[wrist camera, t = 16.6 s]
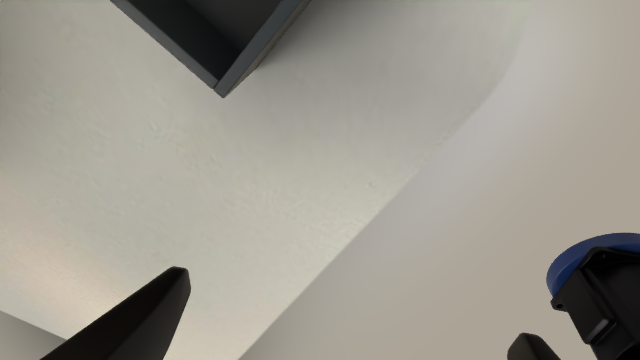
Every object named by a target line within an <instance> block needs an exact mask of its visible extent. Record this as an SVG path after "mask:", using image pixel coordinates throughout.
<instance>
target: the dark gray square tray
mask: <svg viewBox="0 0 640 360" xmlns="http://www.w3.org/2000/svg"><path fill="white" fill-rule="evenodd" d="M110 1H111V2H112V3H113V4H114V5H116V6H117V7H118V8H119V9H120V10H121V11H123V12H124V13H125V14H126V15H127V16H128V17H129V18H131V19H132V20H133V21H134V22H135V23H136V24H138V25H139V26H140V27H141V28H142V29H143V30H145V31H146V32H147V33H148V34H149V35H150V36H151V37H153V38H154V39H155V40H156V41H157V42H158V43H160V44H161V45H162V46H163V47H164V48H165V49H166V50H168V51H169V52H170V53H171V54H172V55H173V56H175V57H176V58H177V59H178V60H179V61H180V62H181V63H183V64H184V65H185V66H186V67H187V68H188V69H190V70H191V71H192V72H193V73H194V74H195V75H196V76H198V77H199V78H200V79H201V80H202V81H203V82H205V83H206V84H207V85H208V86H209V87H210V88H211V89H214V91H215V92H216V93H217V94H218V95H220V96H221V97H222V98H225V97H226V96H227V95H228V94H229V93H230V92H231V91H232V90H233V89H234V88H236V87H237V86H238V85H239V84H240V83H241V82H242V81H243V80H244V79H245V78H246V77H247V76H249V75H250V74H251V73H252V72H253V71H254V70H255V68H256V67H257V66H258V65H259V64H260V62H261V61H262V60H263V59H264V57H265V56H266V55H267V54H268V53H269V51H270V50H271V49H272V48H273V47H274V45H275V44H276V43H277V42H278V40H279V39H280V38H281V37H282V36H283V34H284V33H285V32H286V31H287V29H288V28H289V27H290V26H291V25H292V23H293V22H294V21H295V20H296V18H297V17H298V16H299V15H300V14H301V12H302V11H303V10H304V9H305V7H306V6H307V5H308V4H309V3H310V1H311V0H110Z"/></svg>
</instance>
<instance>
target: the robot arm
mask: <svg viewBox="0 0 640 360" xmlns="http://www.w3.org/2000/svg"><path fill="white" fill-rule="evenodd" d="M598 253H599V254H598ZM190 292H191V285H190V279H189V273H188V270H187V269H186V268H181V267H176V266H173V267H171V268H169V269H167V270H166V271H165V272H163V273H162V274H160V275H159V276H158V277H156V278H155V279H153V280H152V281H150V282H149V283H148V284H146V285H145V286H143V287H142V288H141V289H139V290H138V291H136V292H135V293H133V294H132V295H131V296H129V297H128V298H126V299H125V300H124V301H122V302H121V303H119V304H118V305H116V306H115V307H114V308H112V309H111V310H109V311H108V312H107V313H105V314H104V315H102V316H101V317H99V318H98V319H97V320H95V321H94V322H92V323H91V324H90V325H88V326H87V327H85V328H84V329H82V330H81V331H80V332H78V333H77V334H75V335H74V336H73V337H71V338H70V339H68V340H67V341H66V342H64V343H63V344H61V345H60V346H58V347H57V348H56V349H54V350H53V351H51V352H50V353H48V354H47V355H46V356H44V357H43V358H41V359H40V360H163V358H164V356H165V354H166V352H167V350H168V348H169V346H170V343H171V341H172V339H173V336H174V334H175V331H176V329H177V326H178V324H179V321H180V319H181V316H182V313H183V311H184V308H185V306H186V303H187V301H188V298H189V296H190ZM550 303H551V305H552V307H553V309H555V310H559V311H564V312H568V313H569V315H570V317H571V319H572V321H573V323H574V325H575V327H576V329H577V330H578V333H579V334H580V336H581V338H582V340H583V342H584V343H585V344H589V345H590V346H591V348H592V350H593V352H594V354H595V355H596V357H597V360H640V253H638V252H632V251H626V250H620V249H615V248H609V247H603V246H595V247H593V248H591V249H590V250H589V251H588V252H587V254H586V255H585V256H584V258H583V259H582V260H581V262H580V263H579V264H578V266H577V267H576V268H575V269H574V271H573V272H572V273H571V275H570V276H569V277H568V279H567V280H566V281H565V283H564V284H563V285H562V287H561V288H560V289H559V291H558V292H557V293H556V295H555V296H554V297H553V298H552V300H551V302H550ZM507 359H508V360H561V359H560V358H559V357H558V356H557V355H556V354H555V353H554V351H553V350H552V349H551V348H550V347H549V346H548V345H547V344H546V342H545V341H544V340H543V339H542V338H541V337H539V336H537V335H534V334H529V333H521V334H520V335H519V336H518V337H517V338H516V340H515V341H514V342H513V344H512V345H511V346H510V348H509V350H508V354H507Z"/></svg>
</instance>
